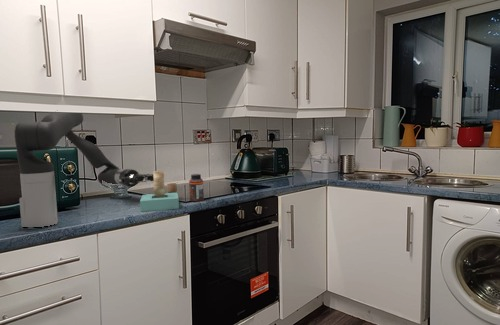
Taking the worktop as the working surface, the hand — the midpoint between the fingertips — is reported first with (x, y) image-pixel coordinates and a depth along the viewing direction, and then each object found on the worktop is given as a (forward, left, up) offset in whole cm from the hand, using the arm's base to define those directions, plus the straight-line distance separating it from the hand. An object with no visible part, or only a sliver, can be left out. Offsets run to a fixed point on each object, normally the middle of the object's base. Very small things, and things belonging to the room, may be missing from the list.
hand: (146, 180), depth 138 cm
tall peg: (+5, -7, -10) cm, 13 cm away
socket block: (+5, -7, -10) cm, 13 cm away
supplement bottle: (+20, 0, -10) cm, 22 cm away
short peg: (+10, +6, -10) cm, 15 cm away
